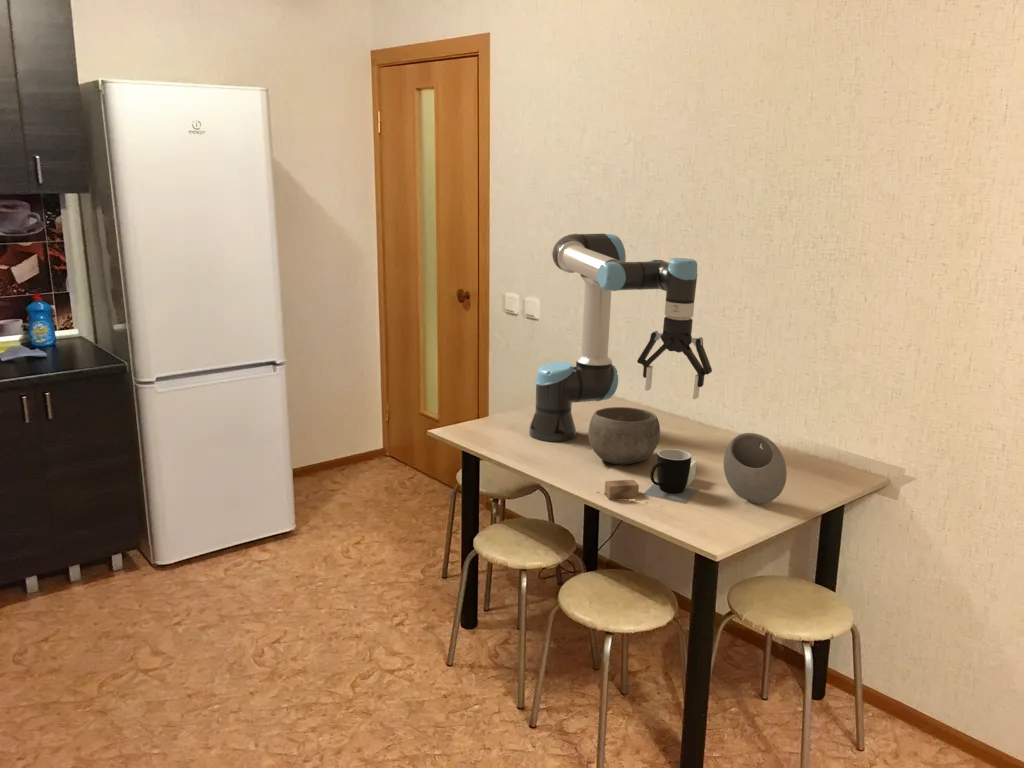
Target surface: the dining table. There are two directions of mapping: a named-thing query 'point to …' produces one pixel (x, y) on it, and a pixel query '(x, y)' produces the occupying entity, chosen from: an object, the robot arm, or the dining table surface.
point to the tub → (691, 472)
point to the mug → (672, 470)
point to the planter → (755, 468)
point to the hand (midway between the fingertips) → (671, 393)
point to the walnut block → (621, 489)
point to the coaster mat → (679, 497)
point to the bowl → (623, 434)
